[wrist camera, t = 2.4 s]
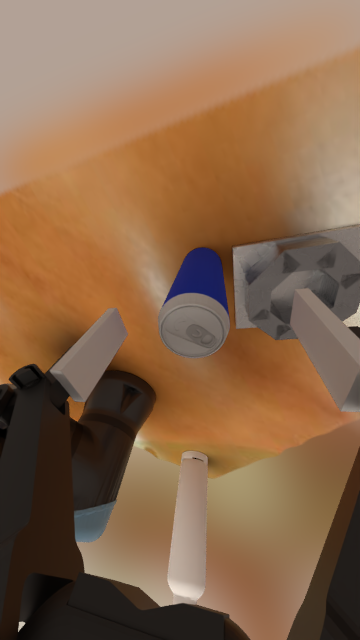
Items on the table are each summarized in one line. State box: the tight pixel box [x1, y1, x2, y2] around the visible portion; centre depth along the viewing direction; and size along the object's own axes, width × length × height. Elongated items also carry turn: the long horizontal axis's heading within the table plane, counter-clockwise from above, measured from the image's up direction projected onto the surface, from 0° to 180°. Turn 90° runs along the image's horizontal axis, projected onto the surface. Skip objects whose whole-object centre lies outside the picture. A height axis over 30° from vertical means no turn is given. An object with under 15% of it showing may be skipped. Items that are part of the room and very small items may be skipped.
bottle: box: [167, 451, 208, 605], centre depth 46 cm, size 8×8×28 cm
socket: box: [232, 224, 360, 340], centre depth 23 cm, size 14×12×4 cm
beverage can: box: [158, 248, 230, 358], centre depth 19 cm, size 5×5×15 cm
